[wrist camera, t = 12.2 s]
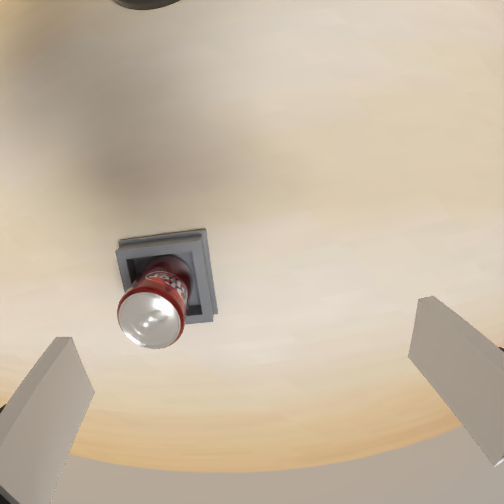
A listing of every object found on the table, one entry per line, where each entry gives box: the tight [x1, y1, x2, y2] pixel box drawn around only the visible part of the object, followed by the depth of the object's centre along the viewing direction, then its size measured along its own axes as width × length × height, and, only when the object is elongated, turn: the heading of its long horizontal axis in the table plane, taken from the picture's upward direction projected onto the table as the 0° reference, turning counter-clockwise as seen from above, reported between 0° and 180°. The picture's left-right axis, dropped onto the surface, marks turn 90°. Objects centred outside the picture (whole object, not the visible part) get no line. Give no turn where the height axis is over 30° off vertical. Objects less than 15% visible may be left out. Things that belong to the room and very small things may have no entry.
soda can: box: [117, 255, 193, 349], centre depth 35 cm, size 7×7×12 cm
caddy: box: [116, 229, 218, 324], centre depth 40 cm, size 12×12×4 cm
